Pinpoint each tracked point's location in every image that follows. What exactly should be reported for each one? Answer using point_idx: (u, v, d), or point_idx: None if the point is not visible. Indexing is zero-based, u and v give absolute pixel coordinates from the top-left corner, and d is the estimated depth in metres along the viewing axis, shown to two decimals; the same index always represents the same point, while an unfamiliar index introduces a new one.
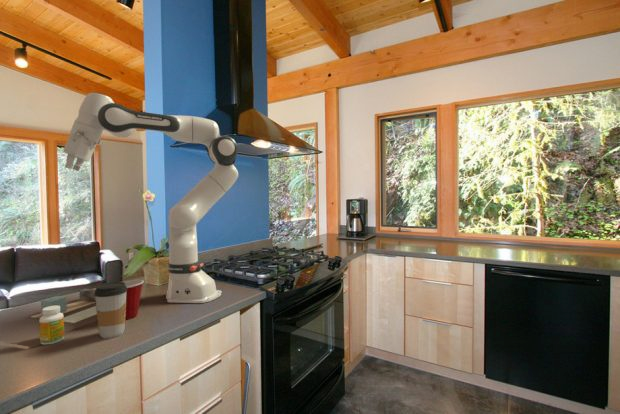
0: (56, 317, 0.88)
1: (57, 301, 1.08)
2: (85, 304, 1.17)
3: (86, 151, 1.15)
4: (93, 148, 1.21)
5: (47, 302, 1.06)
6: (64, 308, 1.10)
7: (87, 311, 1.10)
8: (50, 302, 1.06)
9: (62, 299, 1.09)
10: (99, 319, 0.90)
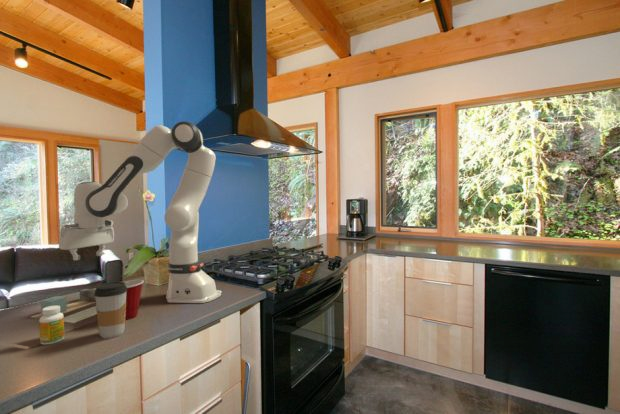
0: (56, 317, 0.88)
1: (57, 301, 1.08)
2: (85, 304, 1.17)
3: (95, 237, 1.22)
4: (109, 230, 1.28)
5: (47, 302, 1.06)
6: (64, 308, 1.10)
7: (87, 311, 1.10)
8: (50, 302, 1.06)
9: (62, 299, 1.09)
10: (99, 319, 0.90)
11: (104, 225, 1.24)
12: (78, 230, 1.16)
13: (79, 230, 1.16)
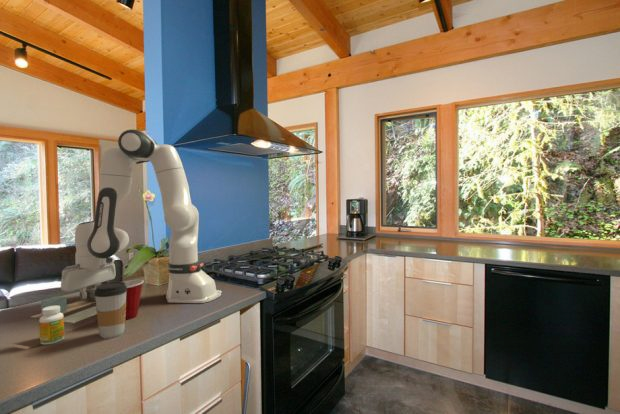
0: (56, 317, 0.88)
1: (57, 301, 1.08)
2: (85, 304, 1.17)
3: (96, 275, 1.23)
4: (111, 266, 1.28)
5: (47, 302, 1.06)
6: (64, 308, 1.10)
7: (87, 311, 1.10)
8: (50, 302, 1.06)
9: (62, 299, 1.09)
10: (99, 319, 0.90)
11: (105, 263, 1.25)
12: (80, 271, 1.16)
13: (81, 271, 1.17)
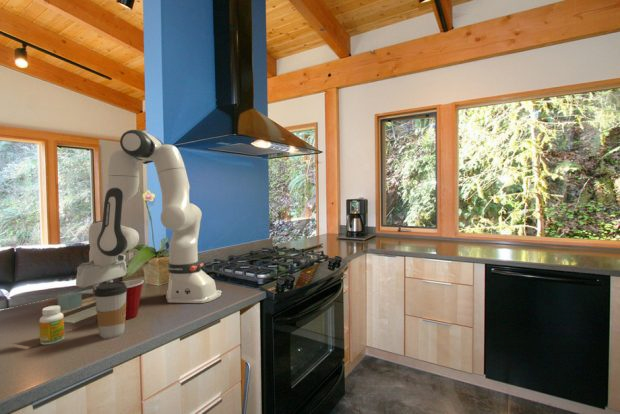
0: (56, 317, 0.88)
1: (73, 296, 1.13)
2: None
3: (109, 272, 1.28)
4: (122, 264, 1.34)
5: (63, 297, 1.12)
6: (79, 303, 1.15)
7: (87, 311, 1.10)
8: (66, 297, 1.11)
9: (77, 294, 1.15)
10: (99, 319, 0.90)
11: (117, 260, 1.30)
12: (94, 267, 1.21)
13: (94, 267, 1.22)
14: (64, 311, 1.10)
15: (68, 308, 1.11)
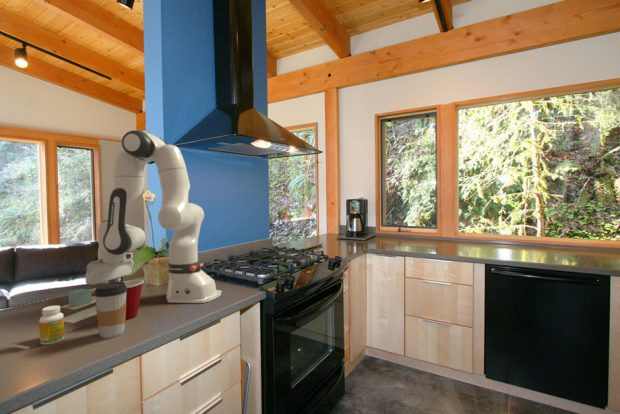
0: (56, 317, 0.88)
1: (83, 293, 1.17)
2: None
3: (117, 270, 1.32)
4: (129, 262, 1.37)
5: (74, 294, 1.15)
6: (89, 300, 1.19)
7: (87, 311, 1.10)
8: (77, 294, 1.15)
9: (87, 291, 1.18)
10: (99, 319, 0.90)
11: (125, 258, 1.34)
12: (102, 265, 1.25)
13: (103, 265, 1.26)
14: (75, 307, 1.14)
15: (79, 304, 1.15)
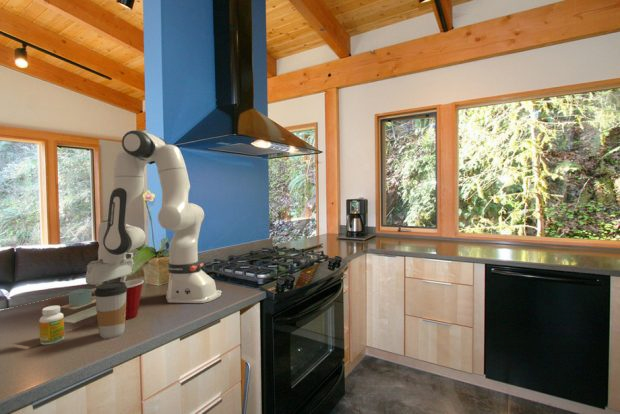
0: (56, 317, 0.88)
1: (83, 293, 1.17)
2: None
3: (117, 270, 1.32)
4: (129, 262, 1.38)
5: (74, 294, 1.15)
6: (89, 299, 1.19)
7: (87, 311, 1.10)
8: (77, 294, 1.15)
9: (88, 291, 1.19)
10: (99, 319, 0.90)
11: (125, 258, 1.34)
12: (103, 265, 1.25)
13: (103, 265, 1.26)
14: (75, 307, 1.14)
15: (79, 304, 1.15)
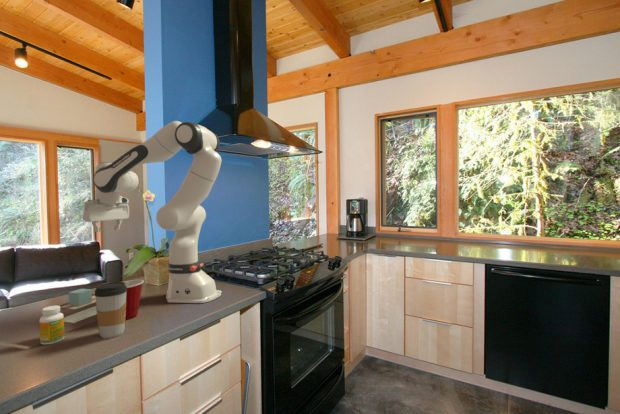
0: (56, 317, 0.88)
1: (83, 293, 1.17)
2: None
3: (113, 212, 1.37)
4: (125, 207, 1.42)
5: (74, 294, 1.15)
6: (89, 299, 1.19)
7: (87, 311, 1.10)
8: (77, 294, 1.15)
9: (88, 291, 1.19)
10: (99, 319, 0.90)
11: (121, 202, 1.39)
12: (99, 205, 1.30)
13: (100, 205, 1.30)
14: (75, 307, 1.14)
15: (79, 304, 1.15)
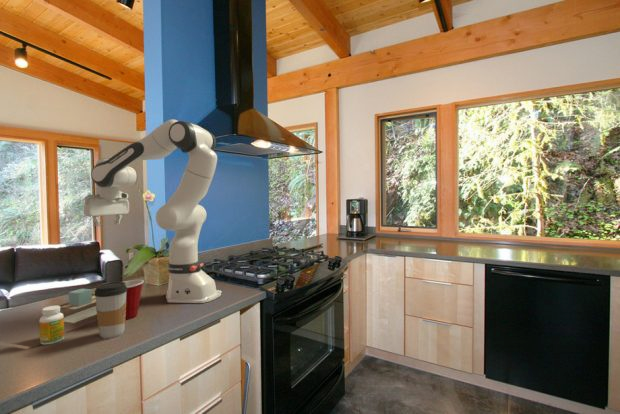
0: (56, 317, 0.88)
1: (83, 293, 1.17)
2: None
3: (113, 207, 1.40)
4: (125, 202, 1.46)
5: (74, 294, 1.15)
6: (89, 299, 1.19)
7: (87, 311, 1.10)
8: (77, 294, 1.15)
9: (88, 291, 1.19)
10: (99, 319, 0.90)
11: (121, 197, 1.42)
12: (99, 200, 1.34)
13: (100, 200, 1.34)
14: (75, 307, 1.14)
15: (79, 304, 1.15)
